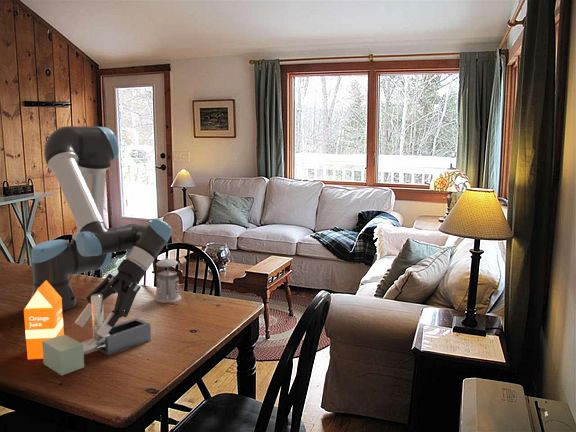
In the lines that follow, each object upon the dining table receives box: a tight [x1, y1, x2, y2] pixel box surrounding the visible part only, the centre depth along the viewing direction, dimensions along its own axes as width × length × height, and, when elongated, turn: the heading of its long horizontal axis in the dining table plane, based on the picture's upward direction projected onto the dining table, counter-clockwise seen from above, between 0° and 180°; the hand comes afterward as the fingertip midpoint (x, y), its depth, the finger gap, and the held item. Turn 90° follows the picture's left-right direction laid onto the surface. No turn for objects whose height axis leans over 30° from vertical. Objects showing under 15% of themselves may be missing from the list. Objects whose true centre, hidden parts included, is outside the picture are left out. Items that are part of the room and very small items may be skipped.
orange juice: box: [23, 280, 65, 360], centre depth 143 cm, size 8×9×20 cm
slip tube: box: [79, 294, 110, 356], centre depth 140 cm, size 14×4×16 cm, turn 141°
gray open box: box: [98, 317, 152, 357], centre depth 150 cm, size 14×7×5 cm, turn 141°
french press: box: [154, 242, 182, 304], centre depth 188 cm, size 10×12×25 cm
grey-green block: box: [42, 333, 85, 376], centre depth 136 cm, size 6×10×7 cm, turn 51°
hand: (89, 330), depth 141 cm, fingers open, 11 cm apart
